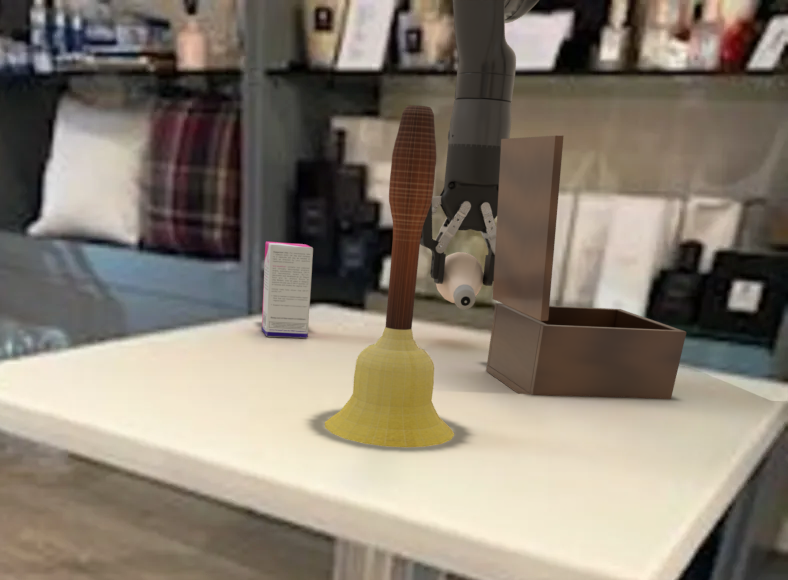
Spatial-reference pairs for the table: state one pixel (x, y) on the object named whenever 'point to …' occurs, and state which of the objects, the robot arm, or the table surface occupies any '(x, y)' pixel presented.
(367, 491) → the table surface
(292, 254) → the supplement box
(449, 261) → the light bulb
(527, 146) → the lid
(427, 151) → the handbell
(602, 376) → the brown open box
